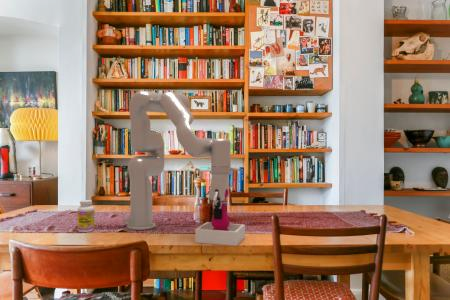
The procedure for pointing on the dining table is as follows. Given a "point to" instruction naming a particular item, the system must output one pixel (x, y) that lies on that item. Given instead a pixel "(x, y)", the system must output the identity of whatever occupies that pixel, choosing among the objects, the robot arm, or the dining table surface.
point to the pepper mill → (224, 222)
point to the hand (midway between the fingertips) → (220, 216)
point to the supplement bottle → (85, 216)
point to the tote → (220, 234)
